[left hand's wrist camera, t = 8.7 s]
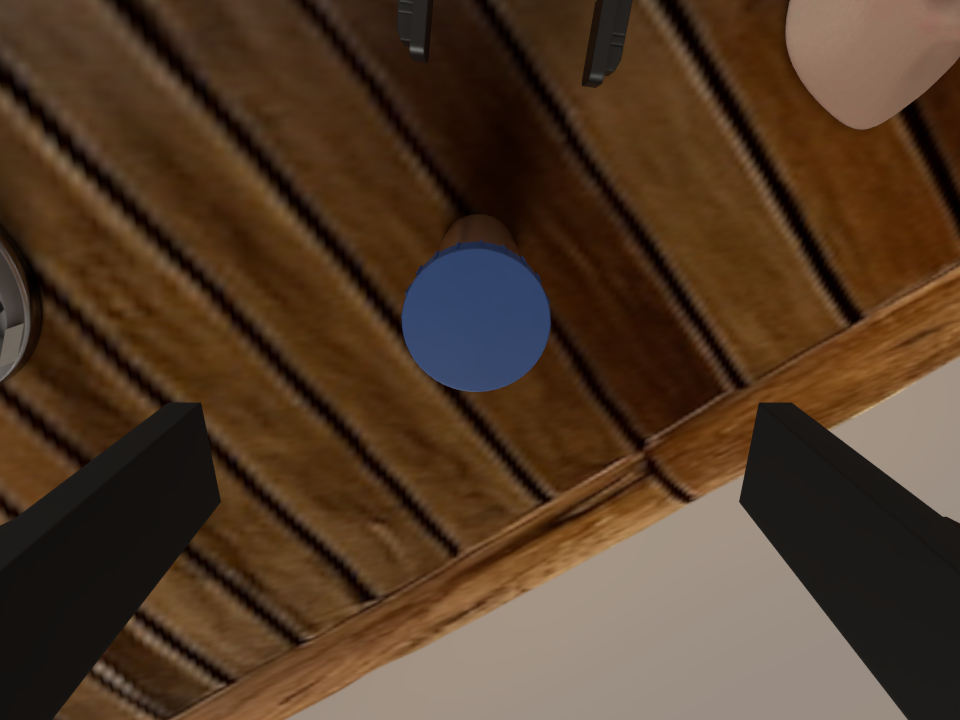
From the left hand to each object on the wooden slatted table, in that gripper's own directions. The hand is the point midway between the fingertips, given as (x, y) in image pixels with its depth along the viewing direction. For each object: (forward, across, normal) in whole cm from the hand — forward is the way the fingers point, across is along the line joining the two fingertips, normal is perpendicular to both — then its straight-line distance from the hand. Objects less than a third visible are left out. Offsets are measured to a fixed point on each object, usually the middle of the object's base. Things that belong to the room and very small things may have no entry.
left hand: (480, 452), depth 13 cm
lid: (+8, 0, +1) cm, 8 cm away
